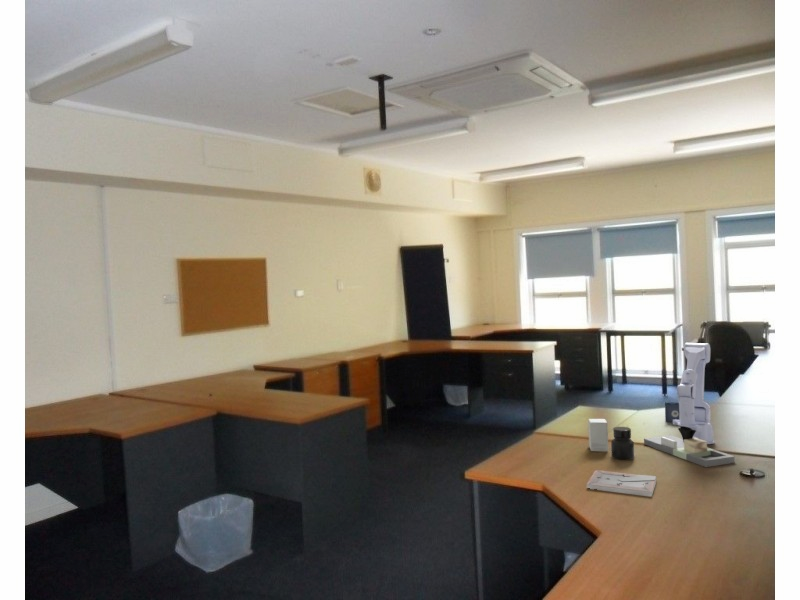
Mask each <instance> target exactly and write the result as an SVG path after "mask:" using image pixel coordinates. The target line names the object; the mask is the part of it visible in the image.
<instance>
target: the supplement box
mask: <svg viewBox="0 0 800 600" xmlns="http://www.w3.org/2000/svg"><path fill="white" fill-rule="evenodd" d="M587 419H588V420H587V421H588V423H587V425H588V447H589V450H590V451H591V452H608V451H609V434H608V430H609V429H608V422H607V420H606V419H605V418H587Z"/></svg>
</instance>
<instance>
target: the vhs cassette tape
mask: <svg viewBox="0 0 800 600" xmlns="http://www.w3.org/2000/svg"><path fill="white" fill-rule="evenodd" d="M694 408H704V407H694ZM664 412H665V413H664V417H665V418H664V421H665V423H672V424H673V420H675V419H677V420H680V419H679V402H673V401H672V402H671V401H665V402H664Z"/></svg>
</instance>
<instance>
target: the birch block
mask: <svg viewBox="0 0 800 600" xmlns="http://www.w3.org/2000/svg"><path fill="white" fill-rule="evenodd" d="M707 447H708V444H707V441H704V440H701V439H698V438H692V439H685V440H684V449H685V450H688V451H691V452H694V453H699V452H705V451H707Z"/></svg>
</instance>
